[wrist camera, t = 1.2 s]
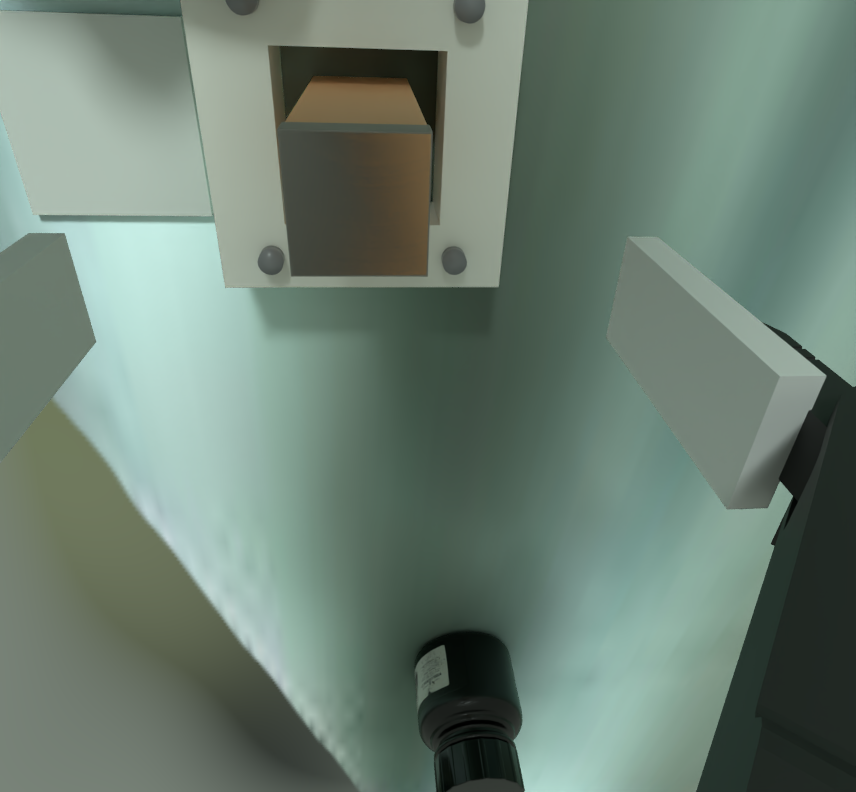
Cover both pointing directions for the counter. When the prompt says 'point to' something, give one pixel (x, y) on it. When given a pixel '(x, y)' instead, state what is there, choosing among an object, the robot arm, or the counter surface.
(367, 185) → the plug
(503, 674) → the ink bottle
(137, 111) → the mat
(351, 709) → the counter surface
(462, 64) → the frame
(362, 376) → the counter surface
